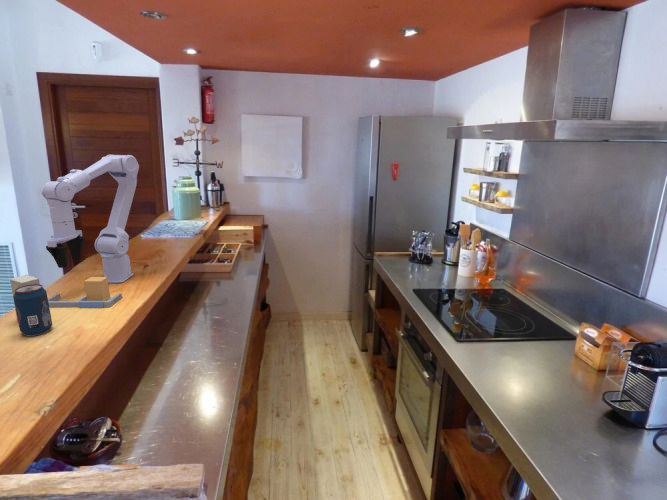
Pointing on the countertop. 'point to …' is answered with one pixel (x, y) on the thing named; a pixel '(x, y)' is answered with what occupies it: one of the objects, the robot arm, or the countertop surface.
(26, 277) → the skincare box
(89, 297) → the tan cardboard-colored block
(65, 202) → the robot arm
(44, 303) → the soda can
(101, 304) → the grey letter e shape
